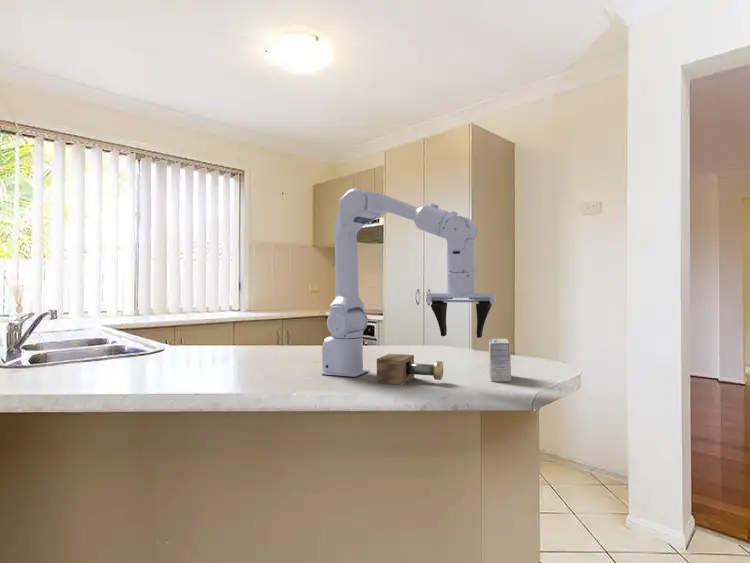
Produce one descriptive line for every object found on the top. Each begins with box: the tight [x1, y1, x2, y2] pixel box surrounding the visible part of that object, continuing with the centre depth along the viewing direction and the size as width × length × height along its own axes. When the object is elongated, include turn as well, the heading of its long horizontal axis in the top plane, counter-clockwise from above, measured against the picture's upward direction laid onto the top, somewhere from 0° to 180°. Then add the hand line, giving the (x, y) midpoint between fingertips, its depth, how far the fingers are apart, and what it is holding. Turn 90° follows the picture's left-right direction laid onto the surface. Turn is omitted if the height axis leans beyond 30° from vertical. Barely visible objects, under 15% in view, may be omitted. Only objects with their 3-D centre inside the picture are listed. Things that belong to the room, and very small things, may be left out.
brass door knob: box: [406, 360, 444, 381], centre depth 105 cm, size 9×4×4 cm, turn 67°
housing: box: [376, 353, 415, 386], centre depth 107 cm, size 6×8×5 cm
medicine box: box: [488, 338, 512, 383], centre depth 108 cm, size 8×4×9 cm, turn 168°
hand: (461, 336), depth 101 cm, fingers open, 7 cm apart
